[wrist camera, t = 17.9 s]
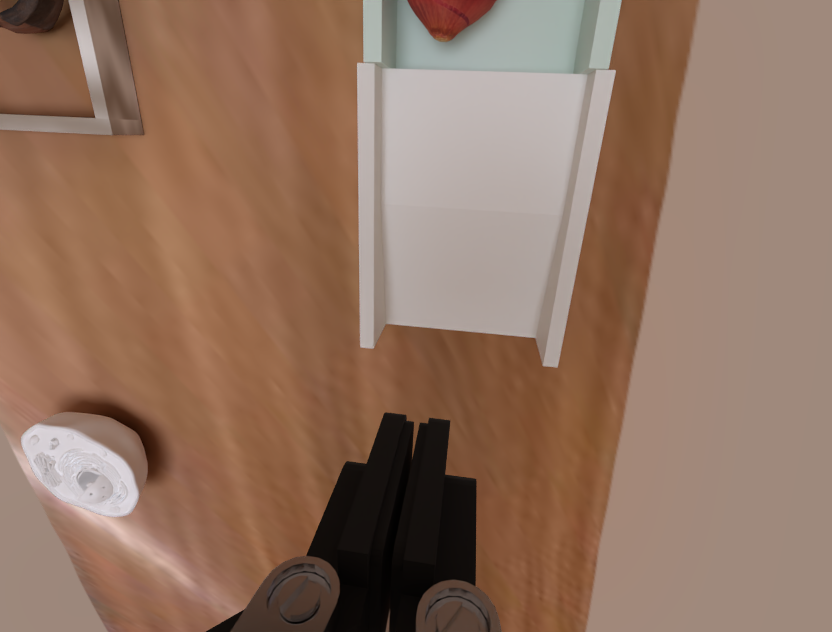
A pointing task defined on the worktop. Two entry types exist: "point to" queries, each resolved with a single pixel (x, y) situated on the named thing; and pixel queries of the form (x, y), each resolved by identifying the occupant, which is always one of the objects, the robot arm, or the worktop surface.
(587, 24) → the tray
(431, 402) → the worktop surface
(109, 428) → the cell model
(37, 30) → the pottery mug
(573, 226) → the white piece
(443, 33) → the red round fruit
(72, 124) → the mug stand
